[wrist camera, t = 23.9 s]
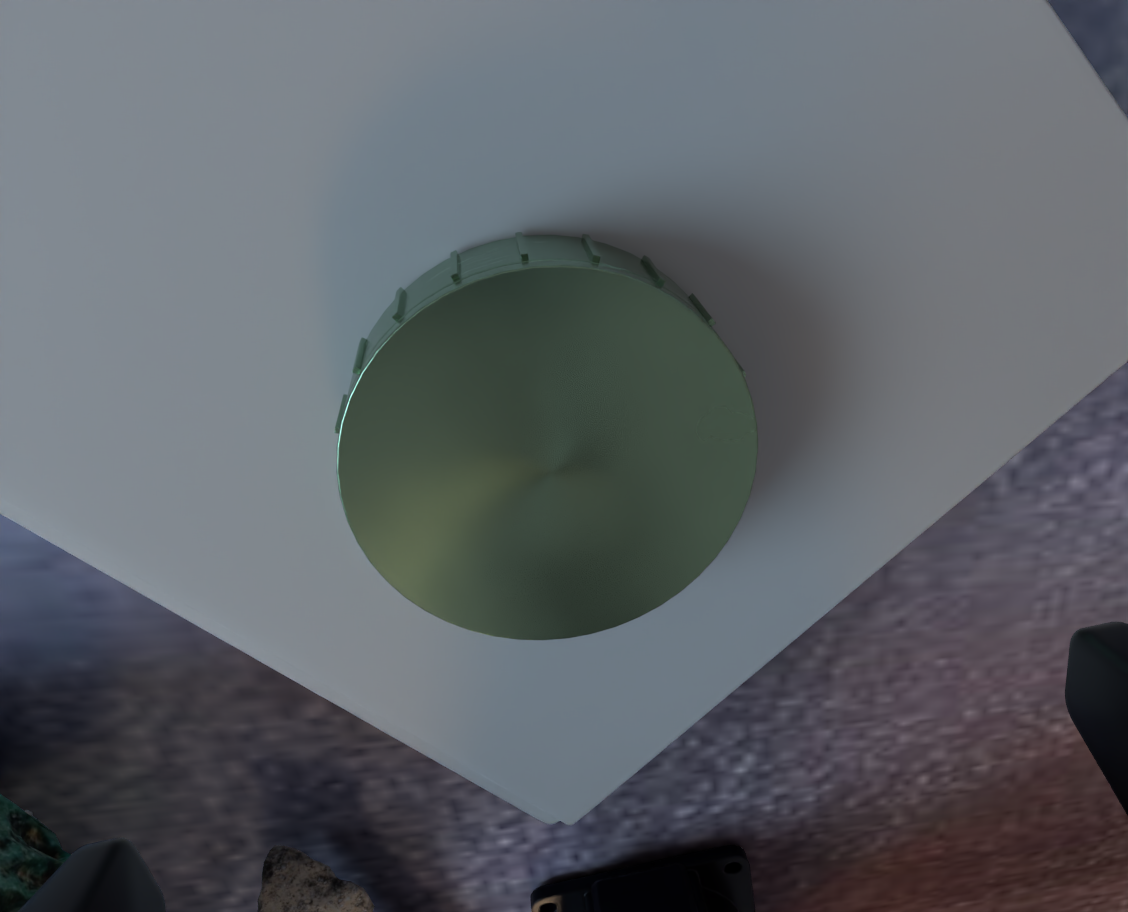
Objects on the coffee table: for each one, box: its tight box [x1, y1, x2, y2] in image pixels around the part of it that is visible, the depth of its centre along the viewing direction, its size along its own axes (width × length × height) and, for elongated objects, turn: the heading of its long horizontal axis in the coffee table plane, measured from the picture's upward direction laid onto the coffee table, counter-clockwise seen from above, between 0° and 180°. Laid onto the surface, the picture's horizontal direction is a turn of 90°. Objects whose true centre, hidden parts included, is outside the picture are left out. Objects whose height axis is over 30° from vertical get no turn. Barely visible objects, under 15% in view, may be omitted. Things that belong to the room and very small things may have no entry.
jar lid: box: [334, 232, 758, 640], centre depth 15 cm, size 7×7×2 cm
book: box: [0, 0, 1128, 825], centre depth 16 cm, size 18×4×24 cm
